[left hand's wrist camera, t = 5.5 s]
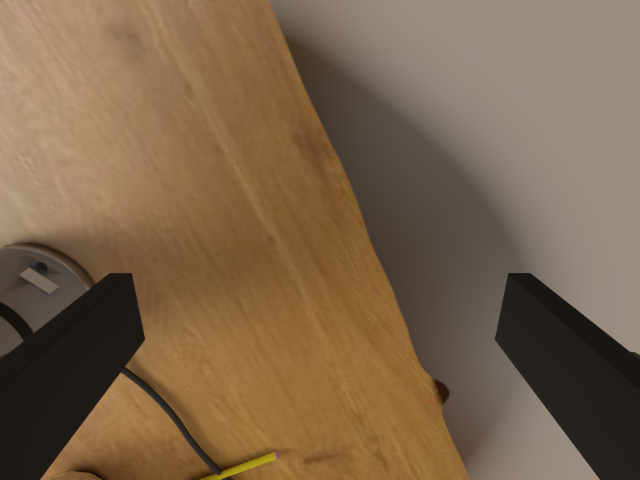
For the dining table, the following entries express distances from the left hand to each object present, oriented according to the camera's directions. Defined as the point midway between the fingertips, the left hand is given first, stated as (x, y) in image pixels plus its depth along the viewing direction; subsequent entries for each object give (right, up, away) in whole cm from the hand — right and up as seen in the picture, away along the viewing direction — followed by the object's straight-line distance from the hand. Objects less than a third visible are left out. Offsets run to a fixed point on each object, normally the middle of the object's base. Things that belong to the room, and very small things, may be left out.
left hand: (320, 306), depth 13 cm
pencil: (-14, -33, +43) cm, 56 cm away
